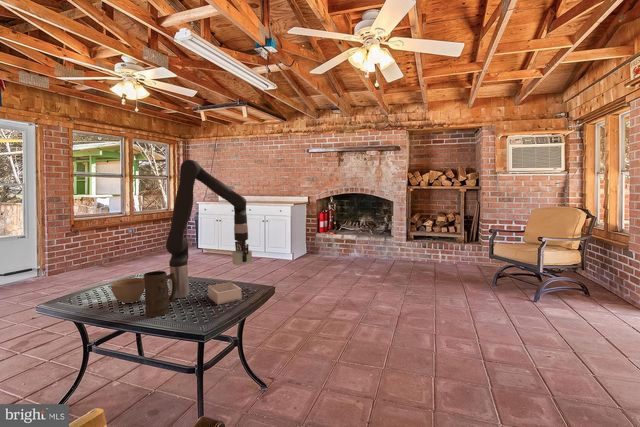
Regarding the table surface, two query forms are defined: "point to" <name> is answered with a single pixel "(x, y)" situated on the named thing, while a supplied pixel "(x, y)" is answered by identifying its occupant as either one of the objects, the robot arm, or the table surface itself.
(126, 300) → the planter bowl
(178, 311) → the table surface
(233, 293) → the big crate
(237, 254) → the small crate
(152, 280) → the beer stein
